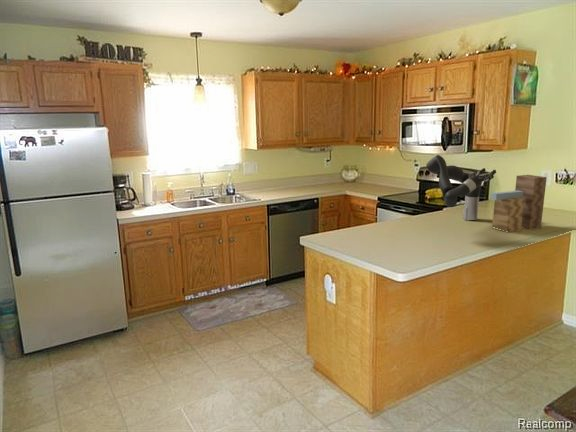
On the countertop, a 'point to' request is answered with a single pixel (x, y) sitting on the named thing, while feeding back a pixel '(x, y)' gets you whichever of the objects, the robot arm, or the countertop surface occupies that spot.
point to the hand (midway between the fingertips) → (490, 170)
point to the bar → (507, 195)
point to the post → (532, 199)
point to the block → (508, 214)
